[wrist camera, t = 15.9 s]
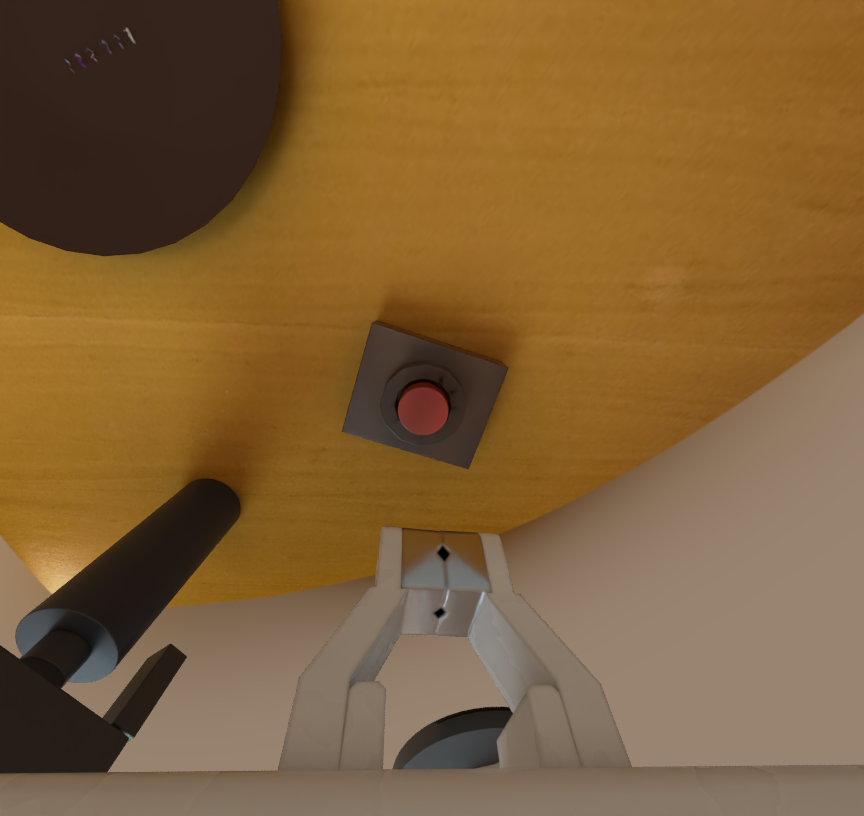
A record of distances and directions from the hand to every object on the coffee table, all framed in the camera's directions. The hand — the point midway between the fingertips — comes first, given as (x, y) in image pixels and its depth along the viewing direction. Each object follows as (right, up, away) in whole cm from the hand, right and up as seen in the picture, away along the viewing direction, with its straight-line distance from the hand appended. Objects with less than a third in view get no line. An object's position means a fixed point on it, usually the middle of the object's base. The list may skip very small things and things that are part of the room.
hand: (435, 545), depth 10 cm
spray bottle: (-22, -8, +29) cm, 37 cm away
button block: (-1, +5, +25) cm, 26 cm away
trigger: (-19, -14, +17) cm, 30 cm away
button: (-1, +4, +22) cm, 22 cm away
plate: (-24, +29, +18) cm, 42 cm away
